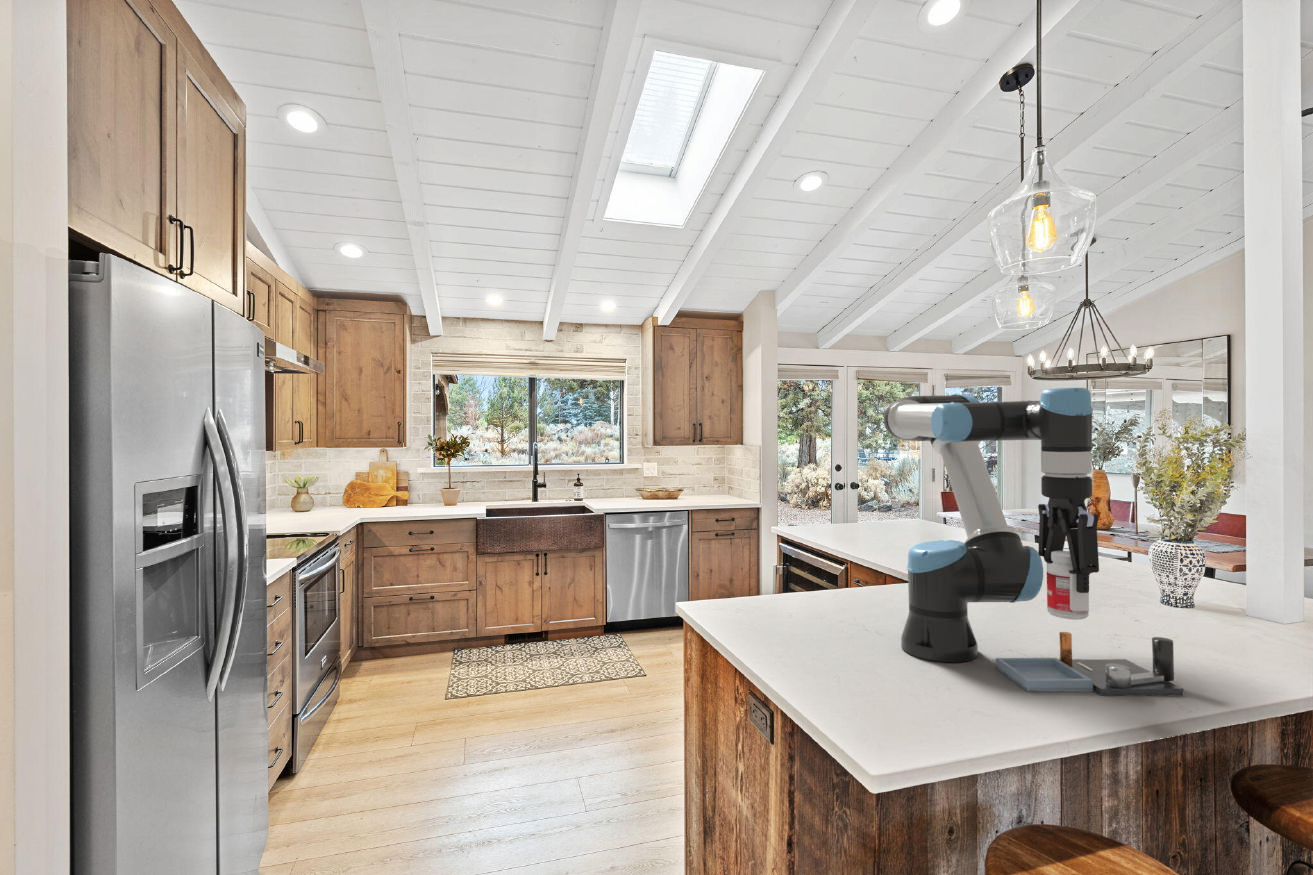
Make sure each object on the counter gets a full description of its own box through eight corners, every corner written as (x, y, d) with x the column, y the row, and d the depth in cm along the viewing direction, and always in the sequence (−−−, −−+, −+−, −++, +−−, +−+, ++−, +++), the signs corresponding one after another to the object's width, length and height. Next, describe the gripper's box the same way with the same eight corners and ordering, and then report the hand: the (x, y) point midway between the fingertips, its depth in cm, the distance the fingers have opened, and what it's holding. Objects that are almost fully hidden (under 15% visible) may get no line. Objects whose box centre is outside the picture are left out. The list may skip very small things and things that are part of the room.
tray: (1027, 691, 112) (1027, 680, 112) (996, 667, 124) (995, 657, 124) (1093, 691, 111) (1092, 680, 111) (1055, 667, 123) (1055, 657, 123)
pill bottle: (1051, 608, 114) (1050, 548, 114) (1091, 614, 110) (1090, 552, 110) (1043, 616, 110) (1042, 554, 110) (1085, 622, 106) (1084, 558, 106)
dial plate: (1100, 695, 110) (1099, 654, 110) (1053, 665, 124) (1052, 629, 124) (1183, 695, 109) (1182, 654, 109) (1125, 665, 123) (1124, 629, 123)
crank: (1119, 688, 109) (1118, 648, 109) (1100, 680, 112) (1099, 642, 112) (1180, 680, 112) (1179, 642, 112) (1160, 673, 115) (1159, 635, 115)
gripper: (1126, 479, 100) (1126, 621, 100) (1056, 470, 119) (1057, 589, 119) (1078, 480, 100) (1079, 621, 101) (1015, 470, 119) (1017, 589, 120)
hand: (1067, 603), depth 110 cm, fingers closed on pill bottle, 6 cm apart
